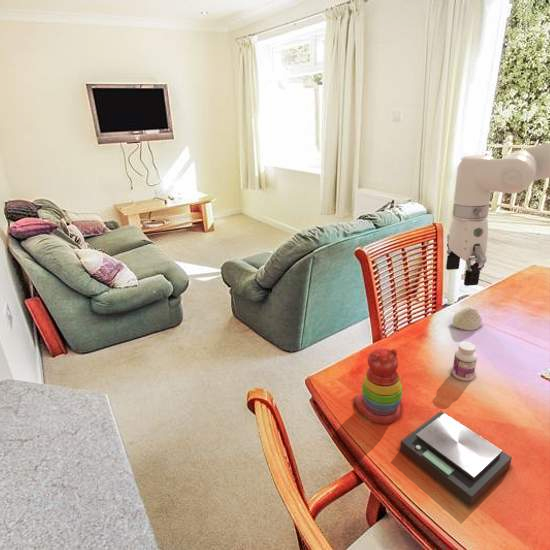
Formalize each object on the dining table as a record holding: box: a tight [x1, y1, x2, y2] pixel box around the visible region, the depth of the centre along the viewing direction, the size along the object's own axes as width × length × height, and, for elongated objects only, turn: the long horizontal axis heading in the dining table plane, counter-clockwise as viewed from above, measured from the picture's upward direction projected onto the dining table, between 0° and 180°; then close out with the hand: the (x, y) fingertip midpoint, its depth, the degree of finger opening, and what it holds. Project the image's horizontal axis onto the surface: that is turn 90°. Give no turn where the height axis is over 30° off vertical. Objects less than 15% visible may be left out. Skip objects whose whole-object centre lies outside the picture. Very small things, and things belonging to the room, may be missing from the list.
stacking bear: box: [354, 347, 403, 425], centre depth 90 cm, size 11×10×18 cm
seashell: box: [452, 306, 483, 331], centre depth 123 cm, size 8×8×8 cm
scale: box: [399, 410, 513, 508], centre depth 79 cm, size 16×14×3 cm
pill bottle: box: [452, 341, 478, 381], centre depth 101 cm, size 5×5×10 cm
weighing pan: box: [416, 412, 503, 480], centre depth 78 cm, size 13×10×1 cm
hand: (461, 276), depth 95 cm, fingers open, 9 cm apart
